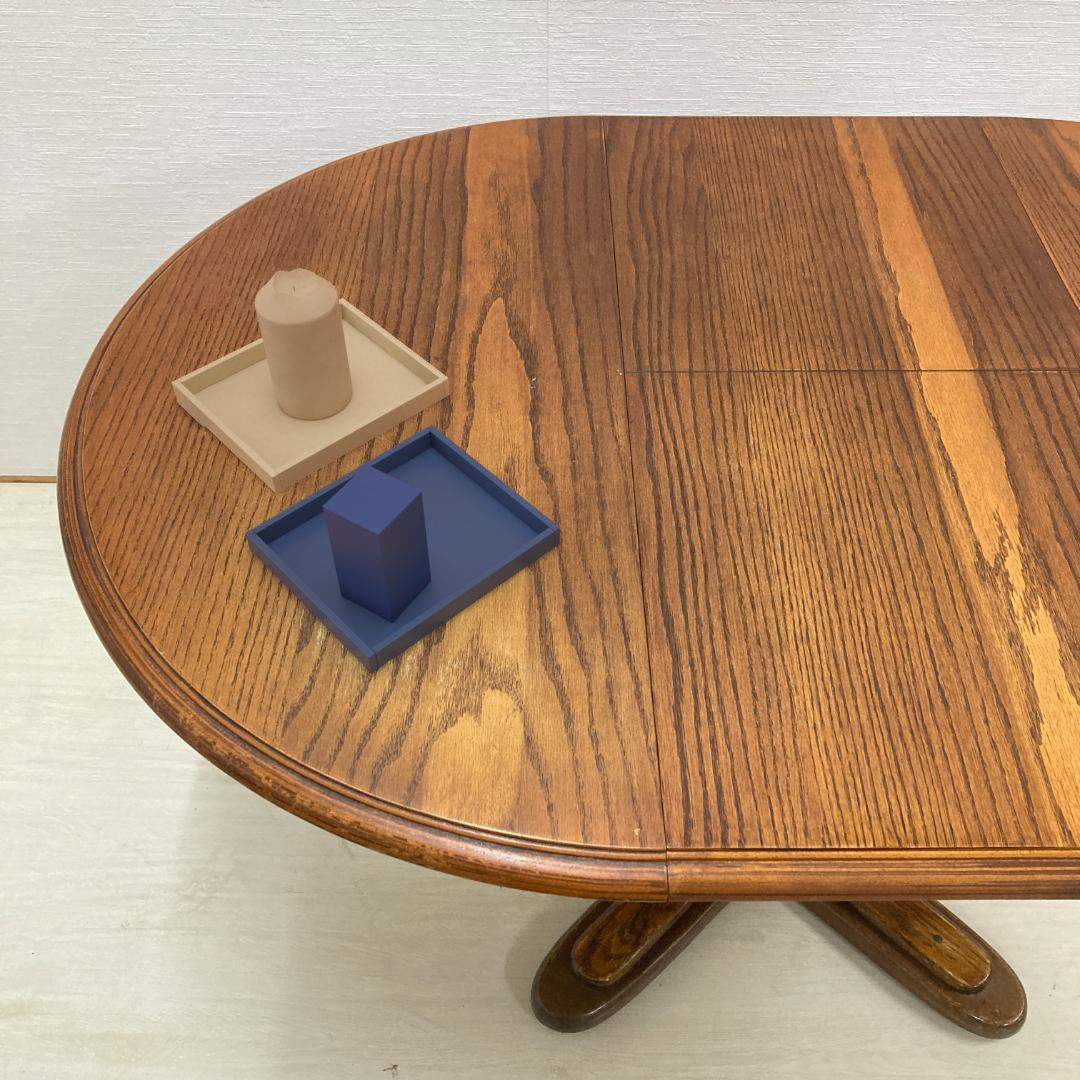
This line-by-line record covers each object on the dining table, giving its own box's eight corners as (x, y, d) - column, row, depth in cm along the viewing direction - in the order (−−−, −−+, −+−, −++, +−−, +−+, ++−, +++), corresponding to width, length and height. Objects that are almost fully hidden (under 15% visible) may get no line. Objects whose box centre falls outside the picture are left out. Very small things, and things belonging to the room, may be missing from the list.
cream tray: (277, 498, 74) (272, 477, 73) (177, 403, 81) (171, 382, 79) (450, 399, 81) (448, 378, 80) (346, 318, 87) (342, 297, 86)
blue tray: (372, 677, 65) (368, 657, 63) (250, 553, 71) (244, 532, 70) (560, 548, 71) (560, 527, 70) (433, 445, 78) (431, 424, 76)
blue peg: (392, 623, 67) (378, 534, 61) (340, 595, 68) (322, 506, 62) (431, 580, 69) (422, 490, 63) (381, 554, 70) (366, 464, 64)
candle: (310, 432, 78) (287, 315, 70) (260, 397, 80) (233, 281, 73) (368, 393, 81) (351, 277, 73) (319, 361, 83) (297, 246, 76)
